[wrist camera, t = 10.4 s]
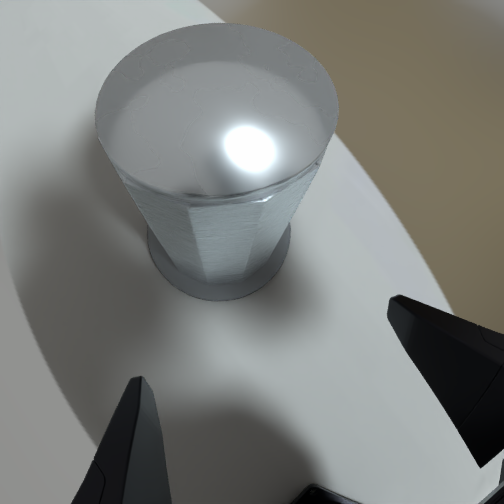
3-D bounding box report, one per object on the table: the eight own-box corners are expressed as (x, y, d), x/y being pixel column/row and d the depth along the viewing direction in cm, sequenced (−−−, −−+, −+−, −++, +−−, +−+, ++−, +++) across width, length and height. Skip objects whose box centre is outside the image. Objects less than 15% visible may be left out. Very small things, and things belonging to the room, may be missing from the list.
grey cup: (297, 240, 20) (384, 119, 8) (205, 308, 18) (172, 255, 6) (231, 160, 21) (243, 6, 9) (143, 217, 19) (67, 83, 8)
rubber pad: (315, 220, 21) (317, 217, 20) (231, 331, 18) (231, 331, 18) (210, 146, 21) (210, 142, 21) (122, 241, 19) (119, 238, 19)
